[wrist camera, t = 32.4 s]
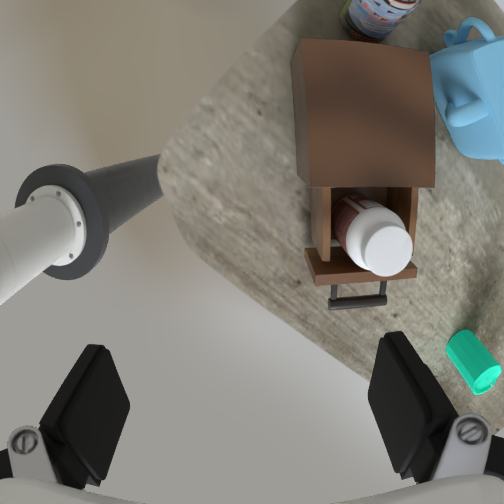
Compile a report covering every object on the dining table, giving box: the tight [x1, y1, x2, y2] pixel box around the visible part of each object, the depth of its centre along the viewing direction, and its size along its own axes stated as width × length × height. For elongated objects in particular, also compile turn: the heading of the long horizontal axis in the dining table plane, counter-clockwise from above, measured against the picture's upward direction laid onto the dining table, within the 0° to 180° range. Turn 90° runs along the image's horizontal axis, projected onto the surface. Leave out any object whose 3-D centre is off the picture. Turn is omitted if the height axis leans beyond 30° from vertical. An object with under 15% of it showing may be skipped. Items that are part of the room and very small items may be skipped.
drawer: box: [305, 187, 418, 310], centre depth 33 cm, size 17×11×8 cm, turn 4°
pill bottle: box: [331, 194, 413, 277], centre depth 30 cm, size 6×6×11 cm
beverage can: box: [340, 0, 421, 43], centre depth 23 cm, size 6×7×12 cm
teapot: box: [430, 17, 504, 165], centre depth 25 cm, size 18×16×14 cm
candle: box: [446, 329, 502, 395], centre depth 39 cm, size 6×6×12 cm
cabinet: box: [291, 38, 435, 188], centre depth 29 cm, size 14×13×10 cm
